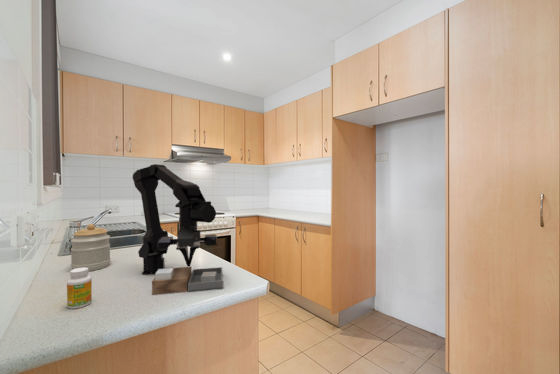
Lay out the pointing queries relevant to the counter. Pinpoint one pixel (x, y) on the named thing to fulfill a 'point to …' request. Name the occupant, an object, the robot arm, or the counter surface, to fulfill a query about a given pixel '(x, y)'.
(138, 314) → the counter surface
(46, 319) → the counter surface
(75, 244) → the jar
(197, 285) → the tray
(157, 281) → the brown wooden block
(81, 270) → the supplement bottle
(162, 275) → the tile
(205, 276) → the tile
